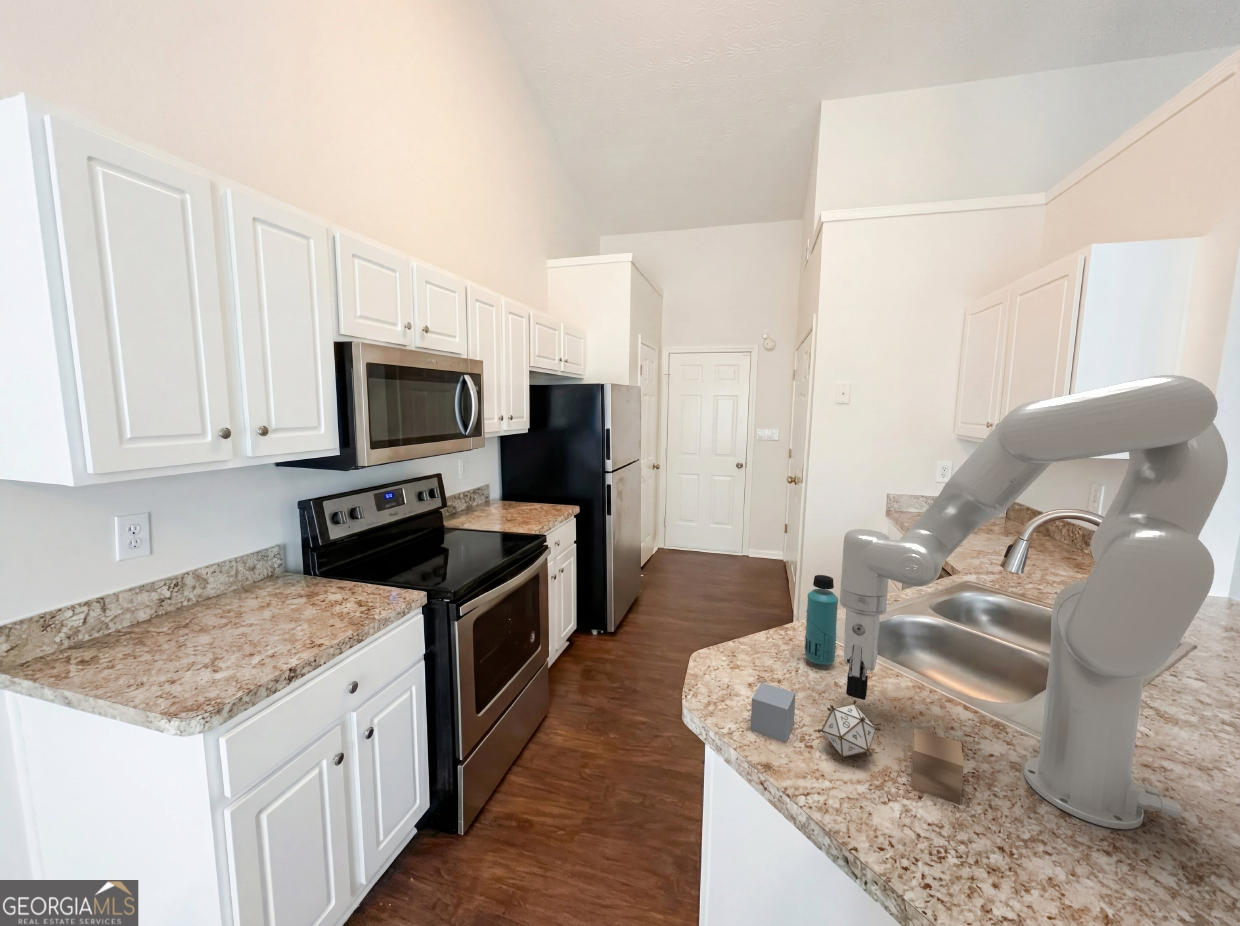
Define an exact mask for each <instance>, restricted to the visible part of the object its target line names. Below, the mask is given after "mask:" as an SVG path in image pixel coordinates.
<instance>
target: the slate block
mask: <svg viewBox="0 0 1240 926" xmlns="http://www.w3.org/2000/svg"><path fill="white" fill-rule="evenodd" d="M795 707H796V692H794V691H791V690H788V689H786V688H782V687H778V686H776V685H771V684H768V683H765V682H761V683H759V686H758V687H757V689H756V690H755V692H754V694H753V695H752V697H751V707H750V708H751V709H750V710H751V713H750V731H751V732H753V733H757V734H759V735H762V736H766V737H768V738H771V739H774V740H776V741H780V742H781V743H784V744H786V743H787V741H788V739H789V737H790V735H791V732H792V729H793V727H794V725H795V712H796V711H795V710H796V709H795Z"/></svg>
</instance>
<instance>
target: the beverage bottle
mask: <svg viewBox="0 0 1240 926" xmlns="http://www.w3.org/2000/svg"><path fill="white" fill-rule="evenodd" d="M812 585H813V587H815V588H814V589H812V590H811V591H810V592H808V593H807V605H806V611H805V612H806V621H805V623H806V626H805V634H804V637H805V641H804V647H803V648H804V655H805V658H806V659H807V660H809V662H813V663H815V664H817V665H818V664H819V665H831V664H833V663H835V659H836V653H837V651H836V650H837V649H836V648H837V647H836V646H837V638H838V637H837V636H838V635H837V623H838V604H839V603H838V602H839V598H838V595H836V594H835V593H834V592H833V591H831V590H833V589H834V587H835V585H834V578H833V577H831V576H829V575H825V574H824V575H823V574H817V575H814V577H813V582H812Z"/></svg>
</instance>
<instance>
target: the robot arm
mask: <svg viewBox="0 0 1240 926" xmlns="http://www.w3.org/2000/svg"><path fill="white" fill-rule="evenodd" d="M1218 408H1219V407H1218V400H1217V398H1216V396H1215V393H1213V391H1212V390H1211V389H1210V388H1209V387H1208V386H1207V385H1205V384H1204V383H1203V382H1201V381H1198V380H1196V379H1194V378H1190V377H1187V376H1183V375H1175V374H1164V375H1163V374H1161V375H1154V376H1149V377H1145V378H1140V379H1136V380H1135V379H1134V380H1131V381H1128V382H1127V381H1126V382H1122V383H1118V384H1114V385H1113V384H1112V385H1110V386H1103V387H1100V388H1099V387H1098V388H1096V389H1091V390H1086V391H1085V390H1084V391H1082V392H1077V393H1072V394H1067V395H1062V396H1061V395H1060V396H1056V397H1052V398H1050V397H1049V398H1044V399H1039V400H1033V401H1028V402H1024V403H1023V404H1022V403H1021V405H1018V406H1016V407H1015V408H1013V409H1012V410H1010V411H1009V412H1008V413H1007V414H1006V415H1005V416H1004V417H1003V419H1001V420H1000V422H999V423H998V424H997V425H996V426H995V427H994V429H992V431H991V432H990V433H989V434H988V435H987V436H986V437H985V439H984V440H983V441H982V442H981V443H980V444H979V445H978V446H977V448H976V449H975V450H973V452H972V453H971V455H969V457H968V458H967V459H966V460H965V461H964V462H963V463H962V464H961V466H959V467H958V469H957V470H956V471H955V472H954V473H953V474H952V475H951V476H950V478H949V479H948V480H947V481H946V483H945V484H944V486H943V488H942V489H941V491H940V493H939V494H938V495H937V497H936V498H935V499H934V500H933V502H932V503H931V504H930V505H929V506H928V507H927V509H926V510H925V511H924V512H923V513H922V514H921V515H920V516H919V517H918V518H917V520H916V521H915V522H914V523H913V524H912V525H911V526H910V528H908V530H907V531H906V532H905V533H903V535H902V536H901V537H900V539H898V540H897V539H890V537H889V536H888V535H887V534H886V533H883V532H880V531H877V530H873V529H872V530H871V529H863V528H862V529H861V528H860V529H859V528H856V529H855V528H854V529H850V530H849V531H847V532H846V533H845V535H844V537H843V545H842V547H843V549H842V564H841V576H840V579H841V580H840V593H839V594H840V595H839V605H840V606H841V607H842V608H844V609H845V621H844V622H845V623H844V636H843V638H844V641H843V662H844V664H845V665H847V666H848V673H847V676H846V677H847V679H846V692H845V693H846V695H847V696H848V697H852V698H855V699H858V700H862V701H866V698H867V692H868V682H869V680H868V679H869V676H868V675H867V674H868V670H869V671H870V672H874V671H875V670H876V666H877V665H876V664H877V660H878V651H879V650H878V649H879V636H880V623H881V622H880V615H884V614H886V613H887V605H888V591H889V580H891V581H894V582H896V583H899V584H903V585H905V586H909V587H910V586H911V587H917V588H919V587H921V588H922V587H926V586H929V585H931V584H933V583H934V582H936V580H938V578H939V576H940V575H941V572H942V568H943V566H944V563H945V562H946V560H947V559H948V558H949V557H950V556H952V554H953V553H954V552H955V551H956V550H957V549H958V548H959V547H960V546H961V545H962V544H963V542H964V541H966V540H967V539H968V537H970V536H971V535H972V534H973V533H974V532H975V531H976V530H978V528H980V527H981V526H983V525H984V524H986V523H987V522H989V521H992V520H995V519H997V518H999V517H1000V516H1001V515H1002V514H1003V513H1005V512H1006V511H1007V510H1008V509H1009V508H1010V507H1011V506H1012V505H1013V504H1014V503H1015V502H1016V501H1017V500H1018V499H1019V497H1021V496H1022V494H1023V493H1025V492H1026V490H1027V489H1028V488H1029V487H1030V486H1031V485H1032V484H1033V483H1034V482H1035V481H1036V480H1037V479H1038V478H1039V477H1040V476H1042V474H1043V473H1044V472H1045V471H1046V470H1047V469H1048V468H1049V467H1050V466H1051V465H1052V464H1053V463H1059V462H1066V461H1075V460H1084V459H1089V458H1096V457H1104V456H1108V455H1109V456H1110V455H1117V454H1122V453H1128V464H1127V469H1126V472H1125V475H1124V477H1123V479H1122V481H1121V483H1120V486H1119V489H1118V490H1117V493H1116V495H1115V496H1114V498H1113V500H1112V501H1111V504H1110V505H1109V508H1108V509H1107V511H1106V513H1105V515H1104V517H1103V519H1102V520H1101V522H1100V523H1099V525H1098V527H1097V529H1096V530H1095V532H1094V533H1093V535H1092V537H1091V541H1090V552H1091V555H1092V558H1093V560H1094V562H1095V564H1094V566H1093V568H1092V571H1091V573H1090V574H1089V576H1088V578H1087V579H1086V580H1079V581H1076V582H1072V583H1070V584H1068V585H1066V586H1065V587H1064V588H1062V589H1061V590H1060V591H1059V592H1058V593H1057V595H1056V596H1055V599H1054V601H1053V604H1052V608H1051V609H1052V610H1051V619H1050V620H1051V623H1050V624H1051V625H1050V649H1049V650H1050V651H1049V662H1048V670H1047V671H1048V672H1047V680H1046V689H1045V696H1044V697H1045V698H1044V706H1043V715H1042V726H1041V734H1040V735H1041V736H1040V744H1039V756H1038V757H1033V758H1030V759H1028V760H1027V761H1026V762H1025V764H1024V766H1023V768H1024V769H1023V773H1024V778H1025V780H1026V782H1027V783H1028V784H1029V785H1030V787H1031V788H1032V789H1033V790H1034V791H1035V792H1036V793H1037V794H1038V795H1040V796H1041V797H1042V798H1044V799H1045V800H1046V801H1047V802H1049V803H1051V804H1052V805H1053V806H1055V807H1056V808H1058V809H1061V811H1064V812H1065V813H1067V814H1069V815H1071V816H1073V817H1074V816H1075V817H1077V818H1079V819H1081V820H1083V821H1086V822H1089V823H1091V824H1094V825H1098V826H1100V827H1101V826H1102V827H1104V828H1105V827H1106V828H1110V829H1117V830H1131V829H1133V830H1134V829H1136V828H1139V827H1140V826H1141V825H1143V821H1144V815H1145V814H1144V811H1145V810H1147V809H1151V810H1154V811H1158V812H1159V813H1162V814H1165V815H1169V816H1170V817H1171V816H1172V817H1175V818H1179V819H1180V818H1181V816H1182V808H1181V805H1180V803H1179V801H1176V800H1173V799H1170V798H1166V797H1164V796H1163V797H1162V796H1160V791H1159V789H1158V787H1154V786H1151V785H1147V784H1141V783H1139V782H1135V779H1133V778H1132V772H1133V764H1134V756H1135V748H1136V740H1137V733H1138V724H1139V716H1140V710H1141V705H1142V704H1141V703H1142V695H1143V684H1144V677H1145V678H1146V677H1147V676H1149V675H1152V674H1154V673H1155V672H1157V671H1158V670H1160V669H1161V668H1162V667H1163V666H1164V665H1165V664H1166V663H1167V661H1168V660H1169V659H1170V658H1171V657H1172V655H1173V654H1174V652H1175V650H1176V649H1177V647H1178V646H1179V644H1180V642H1181V640H1182V639H1183V637H1184V636H1185V634H1186V633H1187V630H1188V629H1189V627H1190V626H1191V624H1192V623H1193V621H1194V619H1195V618H1196V616H1197V615H1198V612H1199V611H1200V609H1201V608H1202V605H1203V604H1204V602H1205V600H1206V599H1207V597H1208V595H1209V593H1210V591H1211V589H1212V585H1213V583H1214V582H1213V581H1214V578H1215V562H1214V559H1213V556H1212V554H1211V553H1210V551H1209V549H1208V548H1207V547H1206V545H1205V544H1204V543H1203V542H1202V541H1201V540H1200V539H1199V537H1200V534H1201V532H1202V531H1203V529H1204V526H1205V525H1206V523H1207V520H1209V518H1210V516H1211V513H1212V511H1213V509H1214V506H1215V504H1216V502H1217V500H1218V498H1219V496H1220V493H1221V491H1222V489H1223V487H1224V484H1225V481H1226V478H1227V474H1228V468H1229V465H1228V463H1229V459H1228V458H1229V457H1228V453H1227V448H1226V445H1225V442H1224V438H1223V437H1222V435H1221V433H1220V430H1219V429H1218V428H1217V426H1216V425H1215V423H1214V420H1216V417H1217V413H1218Z"/></svg>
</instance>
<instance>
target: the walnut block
mask: <svg viewBox="0 0 1240 926" xmlns="http://www.w3.org/2000/svg"><path fill="white" fill-rule="evenodd" d="M963 756H964V755H963V749H962V742H961V741H958V740H954V739H952V738H948V737H945V736H942V735H938V734H934V733H931V732H928V731H925V730H921V729H918V728H915V727H914V729H913V743H912V755H911V771H910V772H911V773H910V774H911V775H910V777H911V778H910V781H911V782H910V788H911V789H913V790H916V791H919V792H922V793H924V794H928V795H930V796H933V797H936V798H939V799H941V800H945V801H947V802H949V803H953V804H955V805H958V806H961V801H962V792H963V782H964V781H963V780H964V769H965V766H964V765H965V764H964V757H963Z"/></svg>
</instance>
